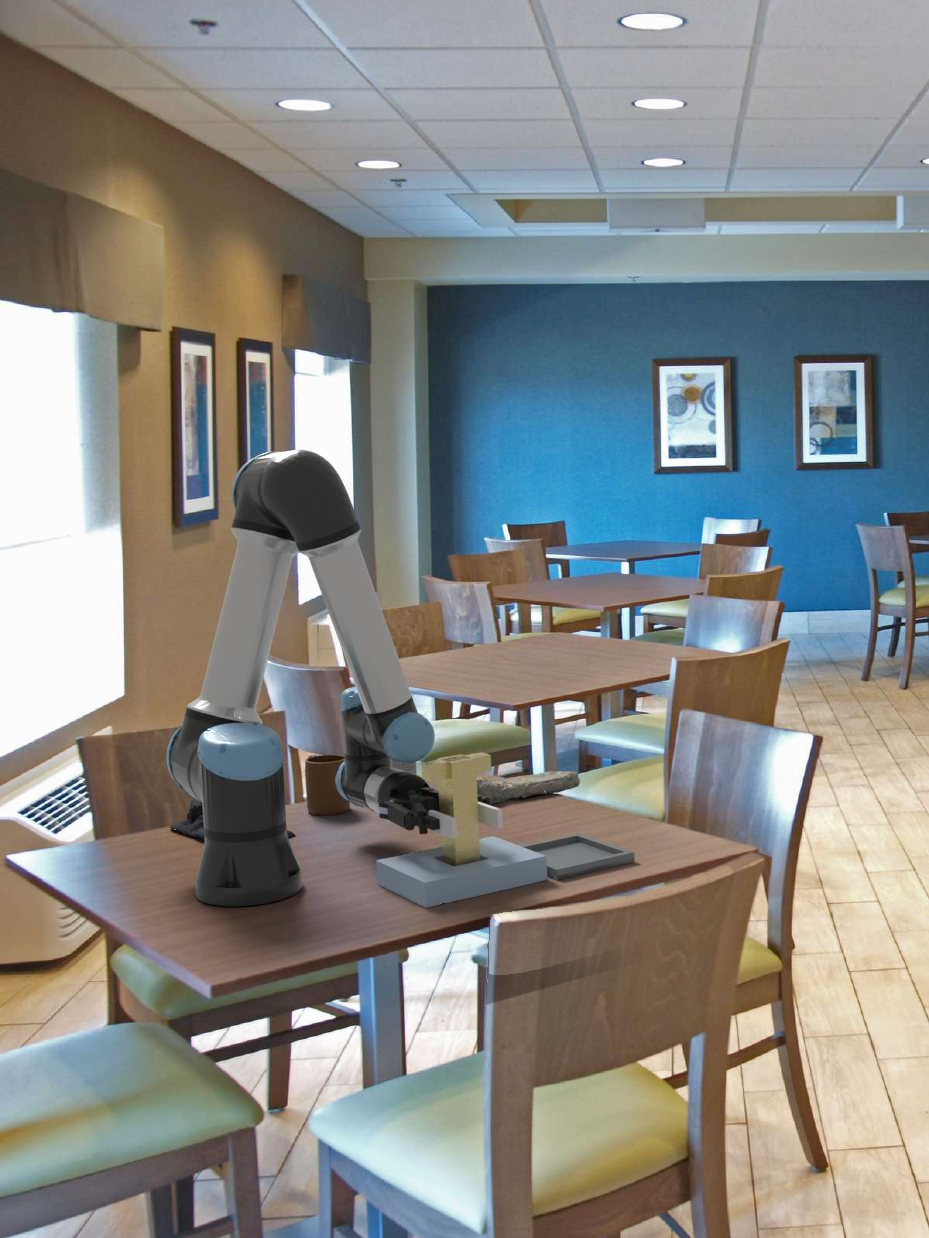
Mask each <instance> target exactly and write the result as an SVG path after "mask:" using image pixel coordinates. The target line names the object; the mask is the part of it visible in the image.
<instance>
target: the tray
mask: <svg viewBox="0 0 929 1238" xmlns="http://www.w3.org/2000/svg"><path fill="white" fill-rule="evenodd" d="M520 846H521V847H524V848H527V849H529V850H532V851H535V852H537V853H540V854H543V855H545V856H546V860H547V878H551V879H553V880H555V881H559V880H564V879H567V878H571V877H576V876H580V875H581V876H582V875H584V874H585V875H586V874H588V873H593V872H598V871H603V870H606V869H610V868H614V867H615V868H616V867H619V866H625V865H628V864H633V863H635V862H636V861H635V851H632V850H629V849H626V848H623V847H621V846H620V847H619V846H617V845H614V844H611V843H608V842H606V841H603V840H600V839H596V838H594V837H591V836H588V835H585V834H582V833H573V834H570V835H569V834H568V835H564V836H559V837H555V838H549V839H545V840H540V841H535V842H532V843H526V844H521V845H520Z"/></svg>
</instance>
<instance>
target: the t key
mask: <svg viewBox="0 0 929 1238" xmlns="http://www.w3.org/2000/svg"><path fill="white" fill-rule="evenodd" d="M489 772H492V757H491V754H490V753H486V752H483V751H482V752H481V751H480V752H477V753H476V752H475V753H470V754H457V755H456V754H455V755H450V756H449V755H448V756H443V757H439V758H438V757H437V758H436V759H434V760H428V761H427V760H426V761H423V762H421V778H422V779H423V780H425V781H426V782H430V783H433V782H437V785H438V787H437V788H439V809H440V813H443V814H446V815H448V816H451V817H454V818H456V823H457V838H450V837H447V836H445V835H442V834H440V847H441V852H442V862H444V863H446V864H449V865H451V866H453V867H454V866H459V865H464V864H468V863H473V862H477V861H480V844H479V839H480V824H479V823H480V822H479V821H478V799H477V777H478V776H477V775H478V774H483V773H489Z"/></svg>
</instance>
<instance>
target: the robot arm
mask: <svg viewBox="0 0 929 1238" xmlns="http://www.w3.org/2000/svg"><path fill="white" fill-rule="evenodd" d="M231 498H232V504H233V507H234V509H235V512H234V515H233V516H234V517H233V520H232V524H231V527H230V531H231V533H232V534H233V537H234V538H235V540H236V542H237V545H236V550H235V552H234V558H233V562H232V566H231V570H230V574H229V578H228V582H227V586H226V590H225V595H224V598H223V601H222V606H221V611H220V614H219V618H218V622H217V627H216V630H215V634H214V639H213V642H212V646H211V650H210V653H209V654H210V655H209V658H208V662H207V667H206V670H205V674H204V678H203V683H202V687H201V691H200V695H199V696H198V697H197V698H196V699H194V700H193V701H191V702H189V703H188V704H187V706H186V709H185V713H184V717H183V721H182V725H181V726H179V728H177V730H175V732H174V734H172V736H171V738H170V740H169V743H168V745H167V749H166V756H165V757H166V764H167V769H168V770H167V771H168V772H169V774H170V777H171V779H172V780H173V781H174V782H175V784H176V785H177V786H178V789H180V790H181V791H182V792H183V793H184V794H186V795H187V796H189V797H191V798H192V799H194V800H199V801H200V802H202V806H203V820H204V834H205V840H204V844H203V847H202V853H201V856H200V861H199V863H198V867H197V872H196V876H195V879H194V880H195V881H194V885H195V897H196V900H197V899H198V900H199V901H200V902H201V903H205V904H208V905H213V906H218V907H219V906H220V907H249V906H257V905H263V904H270V903H272V902H278V901H281V900H284V899H287V898H289V897H292V896H294V895H296V894H297V893H299V891H301V890H302V888H303V877H302V869H301V867H300V864H299V861H298V860H297V859H298V858H297V857H296V854H295V852H294V849H293V846H292V843H291V841H290V838H288V836H287V830H288V829H287V813H286V794H285V779H284V778H285V777H284V773H285V772H284V759H285V756H284V751H283V748H282V742H281V741H282V740H281V738H280V735H279V734H278V733H277V731H276V730H274V729H272V728H271V727H269V726H267V725H263V720H262V718H261V717H260V715H259V714H258V712H257V711H258V710H257V705H258V702H259V696H260V694H261V689H262V684H263V681H264V677H265V672H266V668H267V664H268V662H269V656H270V652H271V649H272V648H271V647H272V644H273V640H274V636H275V633H276V632H275V631H276V628H277V624H278V621H279V616H280V611H281V608H282V603H283V599H284V595H285V592H286V587H287V583H288V578H289V575H290V571H291V568H292V562H293V558H294V557H295V556H296V555H298V554H299V553H300V554H301V555H304V556H305V557H307V558H308V560H309V563H310V566H311V568H312V571H313V573H314V576H315V578H316V582H317V584H318V587H319V589H320V593H321V596H322V599H323V600H324V604H325V607H326V609H327V612H328V615H329V617H330V620H331V623H332V626H333V628H334V631H335V634H336V637H337V639H338V642H339V644H340V647H341V650H342V653H343V656H344V658H345V662H346V664H347V667H348V669H349V672H350V675H351V678H352V680H353V682H354V683H353V684H354V686H353V687H349V688H346V689H344V691H343V692H341V695H340V696H341V698H340V700H341V701H340V704H341V705H340V715H341V724H342V725H341V726H342V727H341V729H342V738H343V739H342V740H343V752H344V753H343V756H344V762H343V763H342V764H341V765H340V767H339V769H338V772H337V775H336V780H335V781H336V787H337V790H338V792H339V793H340V795H341V796H342V797H343V798H345V799H346V800H348V801H349V802H350V804H352V805H354V806H356V807H359V808H364V809H367V810H370V811H372V812H375V813H377V814H378V815H379V816H378V817H379V818H380V819H382V820H383V819H384V820H387V821H389V822H391V823H393V824H395V825H397V826H398V827H401V828H402V829H404V830H406V831H413V830H415V827H418V833H419V835H427V834H429V832H428V831H429V830H430V831H432V832H435V833H437V834H440V835H441V834H442V835H445V836H447V837H450V838H457V823H456V818H454V817H451V816H448V815H446V814H443V813H440V810H439V791H437V790H434V788H433V787H430V785H429V784H428V783H427V782H428V781H426V780H423V779H422V776H420V775H417V774H416V775H415V774H411V773H408V772H406V771H404V770H400V769H397V768H394V767H392V761H391V759H392V760H394V761H400V762H406V763H414V762H416V763H417V762H420V761H422V760H423V759H425V758H426V757H427V756H428V755H429V754H430V752H432V749H433V746H434V744H435V741H436V740H435V736H436V733H435V729H434V726H433V724H432V722H430V721H429V719H428V718H427V717H425V716H424V715H423V714H422V713H419V712H418V709H417V705H416V704H415V701H414V699H413V695H412V693H411V690H410V687H409V684H408V681H407V678H406V675H405V673H404V669H403V667H402V664H401V661H400V658H399V656H398V652H397V650H396V647H395V645H394V641H393V639H392V635H391V633H390V629H389V627H388V625H387V620H386V618H385V615H384V613H383V610H382V606H381V603H380V601H379V598H378V595H377V592H376V590H375V587H374V585H373V581H372V578H371V575H370V572H369V569H368V567H367V564H366V560H365V558H364V555H363V553H362V550H361V546H360V543H359V541H358V539H359V536H360V535H361V533H362V529H361V526H360V523H359V520H358V517H357V514H356V512H355V508H354V505H353V503H352V501H351V498H350V496H349V493H348V491H347V488H346V485H345V484H344V481H343V480H342V478H341V476H340V474H339V473H338V471H337V470H336V468H335V467H334V466H333V465H332V463H330V462H329V461H328V460H327V459H326V458H324V457H323V456H322V455H320V454H318V453H316V452H314V451H310V450H305V449H294V450H293V449H292V450H287V451H267V452H264V453H262V454H261V453H260V454H259V455H256V456H255V457H253V458H251V459H250V460H249V461H247V462H246V463H244V464H243V465H242V467H241V468H240V469H239V470H238V472H237V473H236V475H235V477H234V479H233V483H232V489H231ZM477 799H478V821H479V823H480V824H483V825H485V826H486V825H487V826H488V827H491V828H495V829H497V830H500V829H504V825H503V824H504V822H503V809H501V808H500V807H496V806H493V805H492V804H491V798H490V797H486V796H482V795H478V794H477Z"/></svg>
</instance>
